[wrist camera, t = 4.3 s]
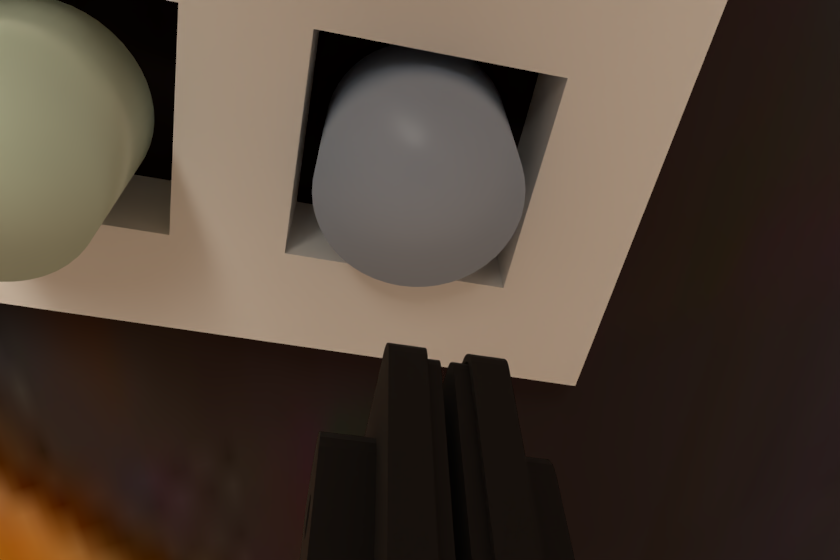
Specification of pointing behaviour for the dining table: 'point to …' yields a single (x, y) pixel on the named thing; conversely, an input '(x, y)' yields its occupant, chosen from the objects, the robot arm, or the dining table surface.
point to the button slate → (417, 168)
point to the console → (296, 222)
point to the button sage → (63, 132)
